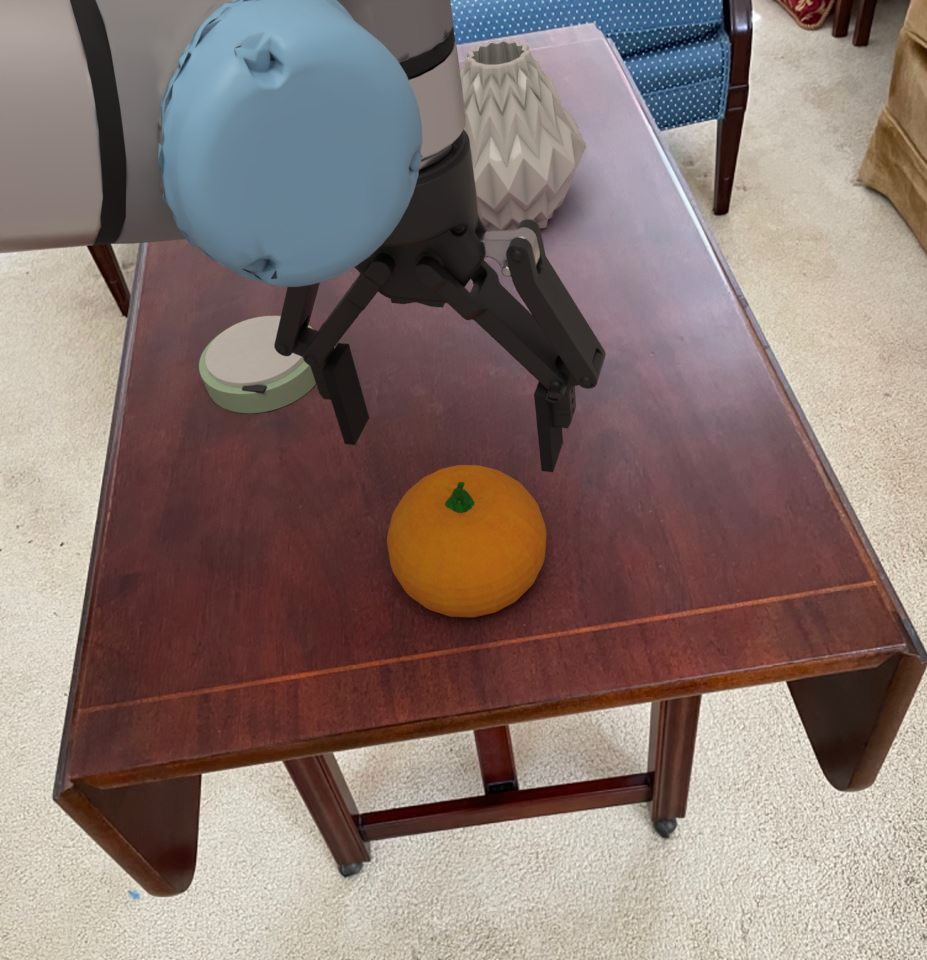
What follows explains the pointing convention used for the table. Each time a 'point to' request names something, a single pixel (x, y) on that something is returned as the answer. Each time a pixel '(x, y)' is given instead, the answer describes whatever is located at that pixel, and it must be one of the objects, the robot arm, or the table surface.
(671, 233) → the table surface
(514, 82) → the vase
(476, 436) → the table surface
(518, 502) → the fruit
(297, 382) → the scale
